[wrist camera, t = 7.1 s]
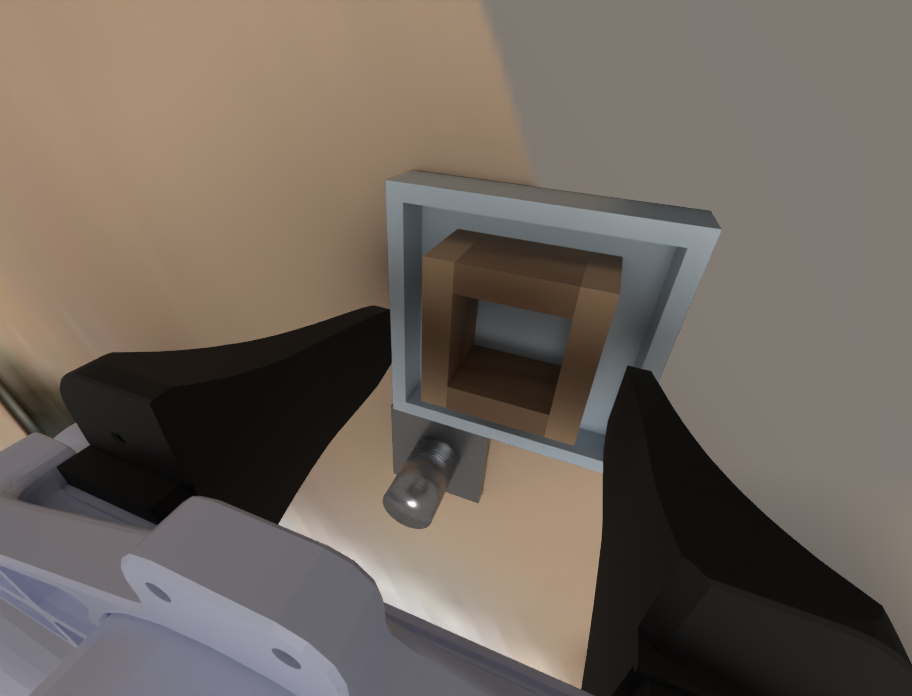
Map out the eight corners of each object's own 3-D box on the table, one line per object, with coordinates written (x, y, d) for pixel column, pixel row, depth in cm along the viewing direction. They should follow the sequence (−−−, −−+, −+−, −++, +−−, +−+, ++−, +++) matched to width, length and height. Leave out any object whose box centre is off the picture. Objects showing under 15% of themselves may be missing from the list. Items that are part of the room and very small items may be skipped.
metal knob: (398, 465, 24) (361, 524, 20) (396, 398, 21) (353, 454, 18) (481, 494, 22) (456, 561, 19) (491, 427, 19) (463, 492, 16)
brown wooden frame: (457, 228, 15) (422, 256, 12) (622, 256, 13) (619, 294, 11) (448, 380, 18) (420, 424, 16) (576, 415, 17) (566, 469, 14)
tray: (412, 383, 20) (393, 408, 18) (412, 169, 15) (385, 180, 13) (619, 442, 17) (617, 478, 16) (710, 211, 12) (722, 229, 10)
